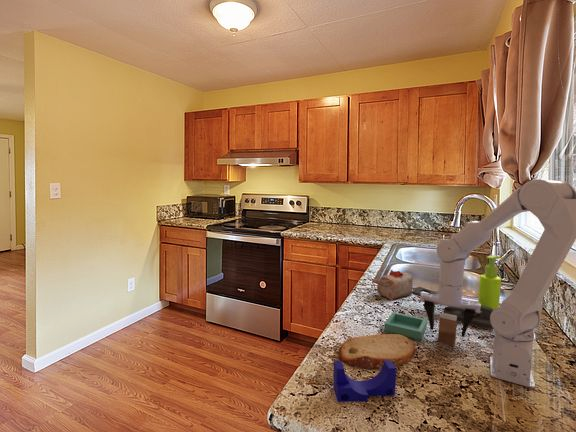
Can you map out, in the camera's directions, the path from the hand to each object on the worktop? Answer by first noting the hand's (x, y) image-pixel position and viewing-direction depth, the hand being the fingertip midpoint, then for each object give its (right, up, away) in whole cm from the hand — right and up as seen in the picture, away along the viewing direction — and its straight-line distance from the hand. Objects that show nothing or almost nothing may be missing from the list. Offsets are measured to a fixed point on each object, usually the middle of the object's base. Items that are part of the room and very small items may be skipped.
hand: (447, 331), depth 88 cm
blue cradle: (-28, -5, -23) cm, 37 cm away
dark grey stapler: (+10, -1, +18) cm, 21 cm away
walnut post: (0, -3, 0) cm, 3 cm away
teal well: (-9, -2, +7) cm, 11 cm away
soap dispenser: (+23, -2, +19) cm, 30 cm away
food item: (-2, +1, +37) cm, 37 cm away
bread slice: (-21, -3, -7) cm, 22 cm away
